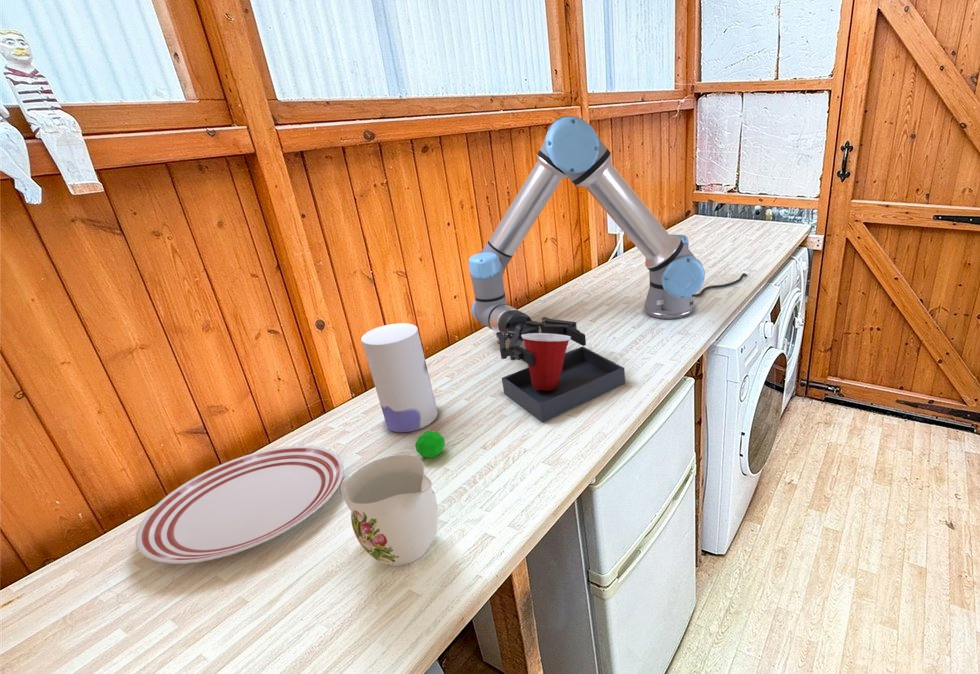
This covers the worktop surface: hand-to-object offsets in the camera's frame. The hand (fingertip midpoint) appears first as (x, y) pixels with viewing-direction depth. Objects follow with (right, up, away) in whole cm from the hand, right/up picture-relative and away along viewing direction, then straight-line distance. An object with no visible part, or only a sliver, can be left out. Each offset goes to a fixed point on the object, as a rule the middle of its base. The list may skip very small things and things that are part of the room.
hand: (559, 349), depth 115 cm
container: (-30, -15, -6) cm, 34 cm away
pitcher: (-17, -29, -37) cm, 50 cm away
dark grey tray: (+1, -9, +3) cm, 10 cm away
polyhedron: (-21, -19, -17) cm, 33 cm away
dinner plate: (-45, -26, -29) cm, 60 cm away
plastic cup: (-3, -9, +2) cm, 9 cm away
